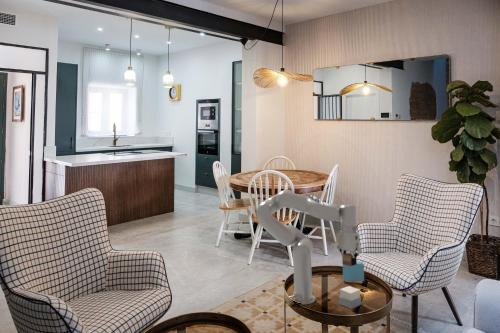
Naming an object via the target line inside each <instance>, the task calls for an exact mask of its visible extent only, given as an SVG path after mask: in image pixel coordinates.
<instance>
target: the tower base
mask: <svg viewBox="0 0 500 333" xmlns="http://www.w3.org/2000/svg"><path fill="white" fill-rule="evenodd" d="M338 304H339V305H340V306H343V307H345V308H348V309H349V310H353V309H355V308H357V307H359V306H361V305H362V297H361V296H360V298H357V299H355V300H353V301H349V300H347V299H344V298H342V297H340V296H338Z"/></svg>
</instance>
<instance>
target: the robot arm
mask: <svg viewBox="0 0 500 333" xmlns="http://www.w3.org/2000/svg"><path fill="white" fill-rule="evenodd" d="M283 208H287V209H290V210H294V211H296V212H297V211H298V212H301V213H304V214H306V215H309V216H311V217H313V218H317V219H320V220H322V221H327V222H335V221H336V220H338V219H339V218H340V231H339V237H338V244H337V246H336V248H337V249H338V251H339V252H340V255H341V256H342V255H343V254H346V253H351V254H352V258H351V260H352V266H353V265H356V263H357V262H358V260H357V258H358V256H359V255H361V254H362V252H363V251H362V250H361V245H360V237H359V232H358V229H359V228H357V218H356V217H357V216H356V215H357V214H356V213H357V211H356V210H357V209H356V206H355V205H353V204H350V203H349V204H347V203H346V204H341V203H330V204H328V205H327V204H326V205H325V204H322V203H320V202H316V201H315V200H314V199H312V198H311V197H309V196H306V195H304V194H303V195H302V194H298V193H295V192H294V191H293V190H291V189H287V188H286V189H283V190H281V191H280V192H279V193H276V194H274V195H273V196H270V197H269V198H267V199H265V200H263V201H262V202H261V203H260V204H259V205H258V206H257V208H256V212H255V213H256V216H255V217H256V220H257V222H258V224H259V225H260V227H261V228H263V229H264V230H265V231H266V232H268V233H269V234H270V235H271V236H272V237H273V238H274V239H276V241H278V242H279V243H280V244H281V245H282V246H285V247H289V246H291V247H292V253H291V254H292V255H291V256H292V262H293V263H292V266H293V267H292V268H293V286H294V287H293V289H294V290H293V292H292V294H291V295H290V296H288V297H290V298H292V299H294V300H297V301H298V302H300V303H302V304H301V305H309V304H313V303H314V302H316V297H315V295H313V280H312V279H313V275H312V274H313V273H312V272H313V271H312V269H313V268H312V255H311V254H312V253H313V249H314V244H313V241H312V240H311V239H310V238H309V237H308V236H306V235H305V234H304V233H303V232H302V231H301V230H300V229H298V228H297V227H296V226H294V225H292V224H291V225H290V224H286V225H284V224H283V223H282V222H281V221H280V220H278V219H277V218H276V217H274V216H273V214H275V213H276V212H278V211H280V210H282V209H283Z"/></svg>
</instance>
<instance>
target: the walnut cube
mask: <svg viewBox="0 0 500 333" xmlns="http://www.w3.org/2000/svg"><path fill="white" fill-rule="evenodd" d="M341 257H342V258H341V259H342V266H343V265H347V266H350V267H351V266H352V260H351V258H352V254H351V252H346V254H343V255H341ZM356 264H357V263H356Z"/></svg>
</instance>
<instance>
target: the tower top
mask: <svg viewBox="0 0 500 333" xmlns="http://www.w3.org/2000/svg"><path fill="white" fill-rule="evenodd" d="M360 291H361V290H360V289H359V288H356V287H352V286H351V285H348V286H346V287H343V288H340V289H339V297H342V298H344V299H347V300H349V301H353V300H355V299H357V298H360V297H361V292H360Z"/></svg>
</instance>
